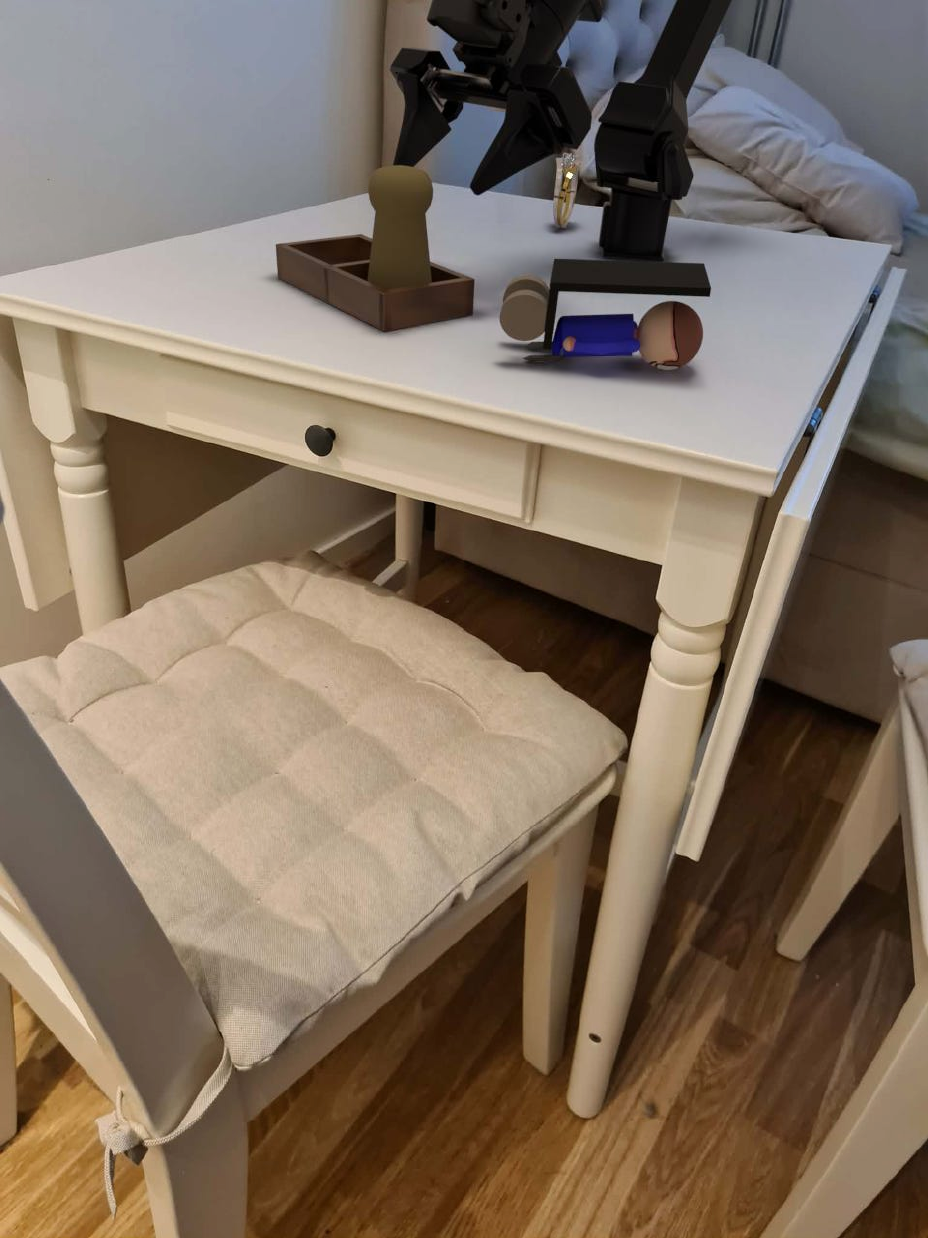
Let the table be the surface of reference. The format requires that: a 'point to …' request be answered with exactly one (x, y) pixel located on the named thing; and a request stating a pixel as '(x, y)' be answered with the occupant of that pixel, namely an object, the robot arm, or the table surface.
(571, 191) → the ring
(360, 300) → the frame
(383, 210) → the cork
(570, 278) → the figurine character
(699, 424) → the table surface
